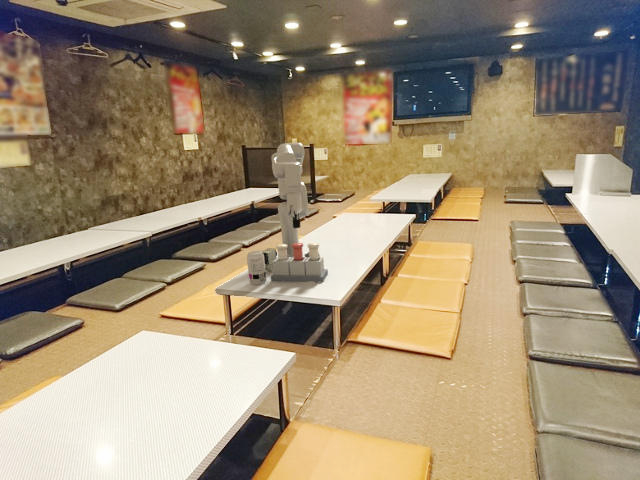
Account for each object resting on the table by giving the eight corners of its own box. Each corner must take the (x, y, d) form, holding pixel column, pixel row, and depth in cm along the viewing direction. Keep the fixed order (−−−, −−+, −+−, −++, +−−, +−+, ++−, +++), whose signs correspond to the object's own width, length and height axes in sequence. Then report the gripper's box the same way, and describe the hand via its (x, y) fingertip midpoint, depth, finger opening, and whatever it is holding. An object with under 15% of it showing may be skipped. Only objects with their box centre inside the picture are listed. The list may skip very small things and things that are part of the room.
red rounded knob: (294, 258, 211) (293, 242, 209) (305, 258, 209) (304, 242, 207) (291, 262, 205) (290, 245, 203) (302, 262, 204) (301, 245, 202)
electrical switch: (314, 269, 221) (311, 252, 219) (305, 269, 223) (303, 252, 222) (322, 264, 229) (320, 247, 227) (314, 264, 231) (311, 248, 230)
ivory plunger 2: (310, 258, 209) (309, 242, 207) (321, 258, 208) (320, 242, 206) (307, 262, 204) (306, 245, 202) (318, 262, 202) (317, 245, 200)
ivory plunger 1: (279, 259, 213) (277, 244, 211) (290, 259, 211) (288, 244, 209) (275, 263, 207) (274, 247, 205) (286, 263, 206) (285, 247, 204)
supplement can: (246, 284, 204) (243, 254, 201) (256, 279, 211) (253, 250, 208) (260, 286, 201) (256, 256, 197) (269, 280, 208) (267, 251, 204)
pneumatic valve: (278, 267, 228) (276, 245, 225) (267, 274, 218) (265, 251, 215) (269, 266, 231) (267, 245, 228) (258, 273, 220) (256, 251, 217)
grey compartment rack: (278, 273, 218) (276, 255, 216) (327, 273, 212) (326, 255, 210) (271, 281, 207) (269, 262, 204) (323, 282, 201) (321, 263, 199)
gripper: (291, 187, 207) (294, 224, 211) (281, 192, 193) (284, 231, 197) (305, 187, 205) (308, 224, 209) (296, 191, 191) (299, 231, 195)
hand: (296, 227), depth 203 cm, fingers closed
